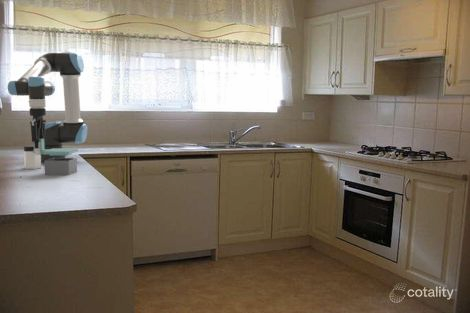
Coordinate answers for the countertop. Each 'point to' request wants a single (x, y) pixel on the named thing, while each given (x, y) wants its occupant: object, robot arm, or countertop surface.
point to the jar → (31, 158)
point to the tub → (60, 166)
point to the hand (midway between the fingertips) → (39, 154)
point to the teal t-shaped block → (55, 150)
